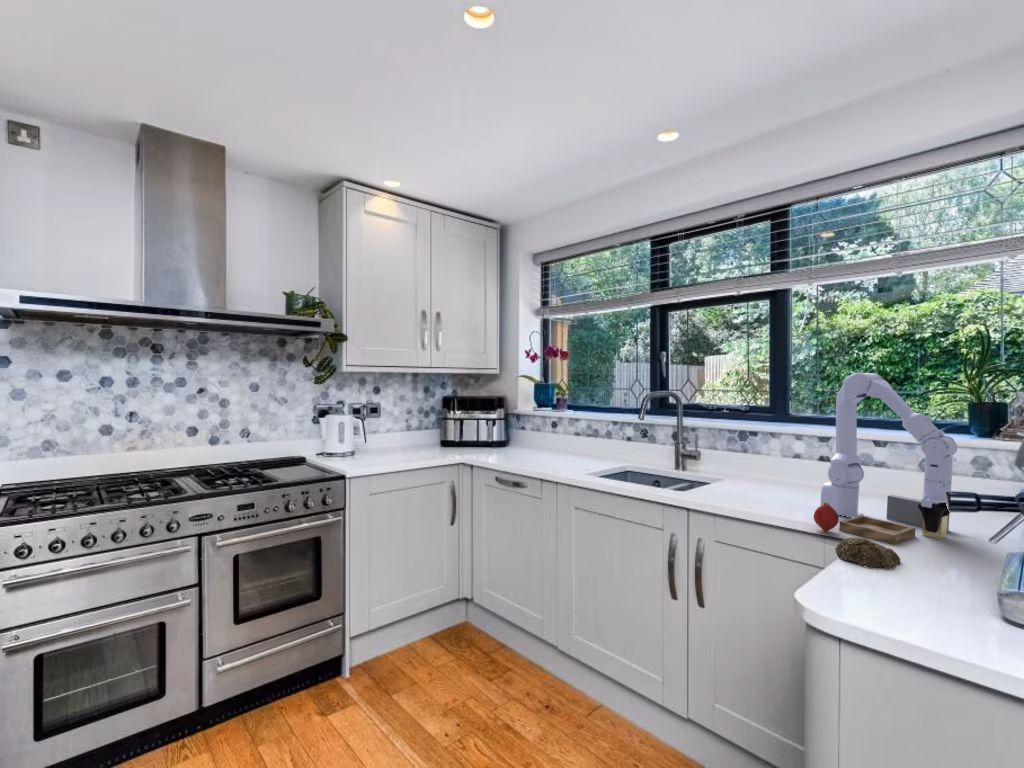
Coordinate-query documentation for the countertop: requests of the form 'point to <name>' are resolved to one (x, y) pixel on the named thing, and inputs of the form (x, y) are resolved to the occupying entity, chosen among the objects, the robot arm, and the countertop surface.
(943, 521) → the brass block
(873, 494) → the countertop surface
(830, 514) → the onion
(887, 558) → the bread roll
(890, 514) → the wall unit
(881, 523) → the tray
